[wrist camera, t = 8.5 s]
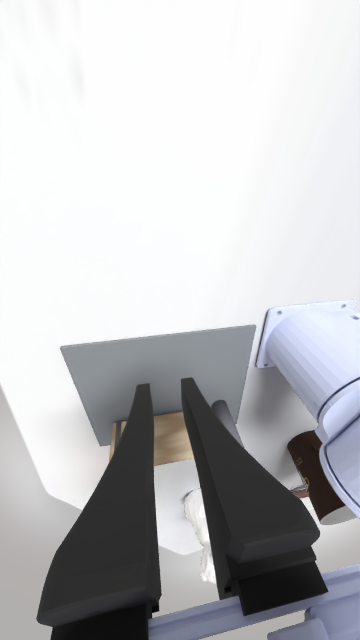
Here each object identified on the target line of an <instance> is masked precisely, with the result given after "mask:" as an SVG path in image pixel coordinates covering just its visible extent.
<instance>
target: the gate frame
mask: <svg viewBox="0 0 360 640" xmlns="http://www.w3.org/2000/svg"><path fill="white" fill-rule="evenodd" d="M255 330H256V325H247V326H238V327H229V328H220V329H211V330H202V331H193V332H184V333H175V334H166V335H157V336H148V337H140V338H131V339H122V340H113V341H104V342H95V343H86V344H77V345H68V346H61V347H60V350H61V352H62V355H63V357H64V360H65V362H66V364H67V367H68V369H69V372H70V374H71V377H72V379H73V381H74V384H75V386H76V389H77V391H78V394H79V396H80V398H81V401H82V403H83V406H84V408H85V411H86V413H87V415H88V418H89V420H90V423H91V425H92V428H93V430H94V432H95V435H96V437H97V440H98V442H99V445H100V446H106V445H111V439H112V429H113V423H116V422H124V421H127V419H128V416H129V413H130V410H131V407H132V403H133V400H134V396H135V391H136V386H137V385H139V384H146V383H150V390H151V397H152V405H153V415H154V416H160V415H166V414H172V413H178V412H183V409H182V403H181V379H183V378H190V377H192V378H194V380H195V382H196V384H197V386H198V388H199V390H200V391H201V393H202V395H203V396H204V398H205V400H206V401H207V403H208V404H209V406H210V407H211V408H212V410H213V411H214V413H215V414H216V415H217V417H218V418H219V419H220V421H221V422H222V423H223V425H224V426H225V427H226V428H227V430H228V431H229V432H230V433H231V434H232V436H233V437H234V438H235V439H236V440H237V441H238V442H239V443H240V444H241V446H242V447H243V448H244V446H243V444H242V441H241V439H240V436H239V434H238V431H237V429H236V426H235V424H237V419H238V414H239V409H240V404H241V399H242V394H243V389H244V384H245V379H246V374H247V369H248V364H249V359H250V354H251V349H252V344H253V340H254V335H255Z"/></svg>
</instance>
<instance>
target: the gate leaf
mask: <svg viewBox="0 0 360 640" xmlns="http://www.w3.org/2000/svg"><path fill="white" fill-rule="evenodd" d="M126 422H127V421H124V422H116V423H113V429H112V439H111V449H110V459H109V462H110V460H111V458H112V456H113V454H114V451H115V449H116V447H117V445H118V442H119V440H120V437H121V435H122V432H123V430H124V427H125V425H126ZM193 458H194V455H193V452H192V448H191V444H190V440H189V437H188V433H187V429H186V425H185V421H184V415H183V412H178V413H172V414H166V415H160V416H154V466H157V465H162V464H167V463H173V462H178V461H183V460H188V459H193Z"/></svg>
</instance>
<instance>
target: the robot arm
mask: <svg viewBox="0 0 360 640" xmlns="http://www.w3.org/2000/svg"><path fill="white" fill-rule="evenodd" d="M356 304H357V303H356V301H354V300H342V301H332V302H323V303H313V304H303V305H293V306H284V307H274V308H271V309H270V310H269V311H268V315H267V319H266V323H265V328H264V332H263V337H262V341H261V346H260V350H259V354H258V359H257V363H256V366H257V367H258V368H268V367H276V366H277V368H278V369H279V370H280V372H281V373H282V375H283V376H284V377H285V379H286V380H287V381H288V383H289V384H290V385H291V387H292V388H293V390H294V391H295V392H296V394H297V395H298V396H299V398H300V399H301V400H302V402H303V403H304V405H305V406H306V407H307V409H308V410H309V411H310V413H311V414H312V415H313V417H314V418H315V420H316V421H317V422H318V423H319V425H318V427H317V429H316V430H315V433H316V434H317V436H318V437H319V439H320V440H321V442H322V443H323V444H322V446H321V448H320V452H319V455H320V462H321V465H322V468H323V471H324V473H325V475H326V477H327V479H328V481H329V483H330V484H331V486H332V488H333V489H334V491H335V492H336V494H337V495H338V496H339V498H340V499H341V500H342V501H343V503H344V504H345V505H346V506H347V507H348V508H349V509H350V510H351V511H352V512H353V513H354V514H355V515H356V516H357V517H358V518H359V519H360V313H358V312H356V311H355V310H354V308H355V306H356ZM278 311H279V313H277V312H278ZM181 403H182V409H183V415H184V421H185V425H186V429H187V433H188V437H189V440H190V444H191V448H192V452H193V455H194V459H195V463H196V467H197V471H198V477H199V482H200V488H201V493H202V499H203V504H204V510H205V516H206V522H207V528H208V533H209V539H210V545H211V552H212V558H213V564H214V570H215V576H216V583H217V588H218V593H219V598H220V601H216V602H212V603H208V604H204V605H201V606H197V607H193V608H189V609H186V610H182V611H178V612H174V613H170V614H167V615H163V616H159V617H155V618H152V613H154V612H158V611H159V599H160V597H161V595H162V594H161V581H160V567H159V553H158V538H157V523H156V508H155V492H154V415H153V405H152V397H151V390H150V383H146V384H139V385H137V386H136V391H135V396H134V400H133V403H132V407H131V410H130V413H129V416H128V419H127V422H126V425H125V427H124V430H123V432H122V435H121V437H120V440H119V442H118V445H117V447H116V449H115V451H114V454H113V456H112V458H111V460H110V462H109V464H108V466H107V468H106V470H105V472H104V474H103V476H102V478H101V480H100V481H99V483H98V485H97V487H96V489H95V491H94V492H93V494H92V496H91V497H90V499H89V501H88V502H87V504H86V506H85V507H84V509H83V511H82V513H81V514H80V516H79V517H78V519H77V521H76V522H75V524H74V525H73V527H72V528H71V530H70V532H69V533H68V534H67V536H66V538H65V539H64V541H63V542H62V544H61V545H60V547H59V548H58V550H57V551H56V553H55V555H54V558H53V560H52V563H51V566H50V568H49V571H48V574H47V577H46V581H45V584H44V587H43V591H42V596H41V600H40V605H39V609H38V614H37V618H36V619H37V621H38V623H40V624H43V625H47V626H51V627H53V629H52V635H51V640H199V639H202V638H206V637H209V636H213V635H216V634H219V633H223V632H227V631H230V630H234V629H237V628H241V627H245V626H248V625H252V624H255V623H259V622H262V621H266V620H269V619H272V618H276V617H280V616H283V615H287V614H290V613H294V612H298V611H301V610H305V609H307V610H306V611H305V621H304V622H302V623H299V624H296V625H292V626H289V627H286V628H282V629H279V630H277V631H274V632H271V633H268V635H267V639H268V640H360V564H356V565H352V566H349V567H344V568H341V569H337V570H333V571H329V572H326V573H322V574H320V572H319V570H318V567H317V565H316V563H315V560H316V556H315V554H314V551H313V549H312V547H311V545H312V544H313V543H314V542H315V541H316V540H317V539H318V538H319V536H320V531H319V529H318V527H317V525H316V523H315V521H314V519H313V518H312V516H311V515H310V513H309V511H308V510H307V508H306V507H305V505H304V504H303V502H302V501H301V500H300V499H299V498H298V497H297V496H295V495H294V494H293V493H292V492H291V491H289V490H288V489H287V488H286V487H285V486H283V485H282V484H281V483H280V482H279V481H278V480H276V479H275V478H274V477H273V476H272V475H271V474H270V473H269V472H268V471H267V470H265V469H264V468H263V467H262V466H261V465H260V464H259V463H258V462H257V461H256V460H255V459H254V458H253V457H252V456H251V455H250V454H249V453H248V452H247V451H246V450H245V449H244V448H243V447H242V446H241V444H240V443H239V442H238V441H237V440H236V439H235V438H234V437H233V436H232V434H231V433H230V432H229V431H228V430H227V428H226V427H225V426H224V425H223V423H222V422H221V421H220V419H219V418H218V417H217V415H216V414H215V413H214V411H213V410H212V408H211V407H210V406H209V404H208V403H207V401H206V400H205V398H204V396H203V395H202V393H201V391H200V390H199V388H198V386H197V384H196V382H195V380H194V378H192V377H190V378H183V379H181Z"/></svg>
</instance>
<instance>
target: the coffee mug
mask: <svg viewBox="0 0 360 640" xmlns="http://www.w3.org/2000/svg"><path fill="white" fill-rule="evenodd" d="M322 444H323V443H322V442H321V440H320V439H319V437H318V436H317V434H316V433H315V430H313V431H307V432H304V433H302V434H299V435H297V436H296V437H294V438H293V439H292V440H291V441H290V442H289V443H288V449H289V452H290V454H291V456H292V459H293V461H294V463H295V466H296V468H297V470H298V473H299V475H300V477H301V480H302V482H303V484H304V487H305V489H306V491H307V494H308V496H309V498H310V501H311V503H312V505H313V507H314V510H315V512H316V514H317V517H318V519H319V521H320V524H322V525H332V524H337V523H341V522H345V521H348V520H351V519H354V518H357V516H356V515H355V514H354V513H353V512H352V511H351V510H350V509H349V508H348V507H347V506H346V505H345V504H344V503H343V501H342V500H341V499H340V498H339V496H338V495H337V494H336V492H335V491H334V489H333V488H332V486H331V484H330V483H329V481H328V479H327V477H326V475H325V473H324V471H323V468H322V465H321V462H320V455H319V452H320V448H321V446H322Z"/></svg>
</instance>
